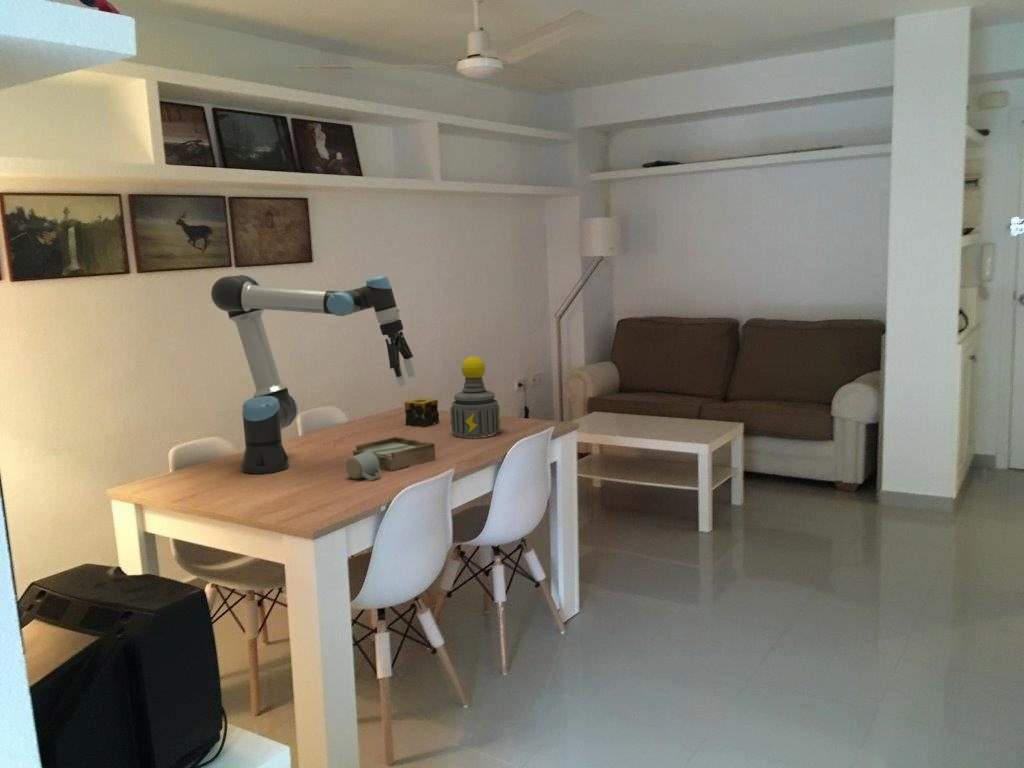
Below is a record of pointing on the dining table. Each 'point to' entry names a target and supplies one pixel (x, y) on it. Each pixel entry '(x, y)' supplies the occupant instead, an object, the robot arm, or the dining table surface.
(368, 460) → the ceramic mug
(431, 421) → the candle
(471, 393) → the decorative lamp
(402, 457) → the walnut tray
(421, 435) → the dining table surface
